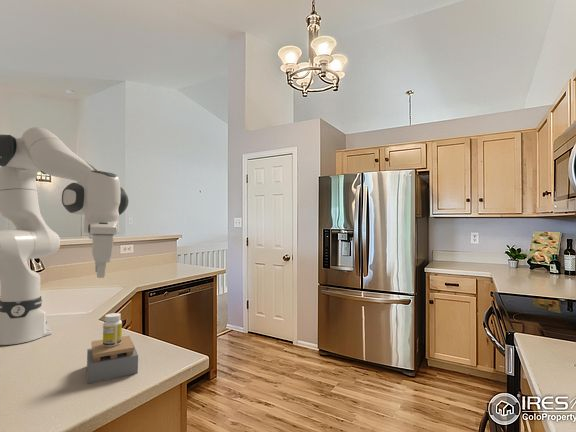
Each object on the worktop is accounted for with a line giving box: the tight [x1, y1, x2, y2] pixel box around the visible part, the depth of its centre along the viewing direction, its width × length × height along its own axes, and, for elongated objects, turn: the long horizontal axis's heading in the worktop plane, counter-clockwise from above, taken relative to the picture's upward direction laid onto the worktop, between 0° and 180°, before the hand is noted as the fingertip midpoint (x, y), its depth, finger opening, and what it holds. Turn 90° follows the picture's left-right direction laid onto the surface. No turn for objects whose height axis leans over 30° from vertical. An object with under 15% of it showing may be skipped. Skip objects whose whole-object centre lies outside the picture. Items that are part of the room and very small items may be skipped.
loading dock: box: [86, 335, 139, 384], centre depth 94 cm, size 12×12×7 cm
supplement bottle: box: [102, 312, 123, 347], centre depth 94 cm, size 5×5×8 cm
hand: (99, 274), depth 94 cm, fingers open, 8 cm apart
